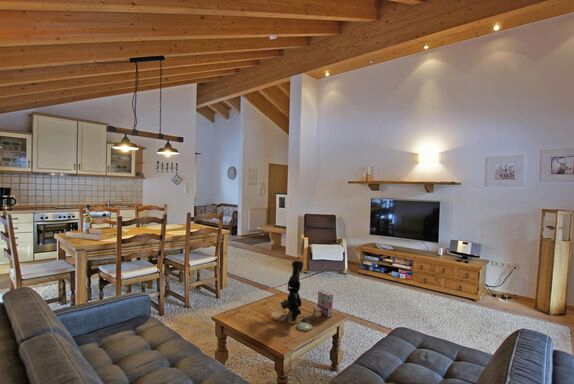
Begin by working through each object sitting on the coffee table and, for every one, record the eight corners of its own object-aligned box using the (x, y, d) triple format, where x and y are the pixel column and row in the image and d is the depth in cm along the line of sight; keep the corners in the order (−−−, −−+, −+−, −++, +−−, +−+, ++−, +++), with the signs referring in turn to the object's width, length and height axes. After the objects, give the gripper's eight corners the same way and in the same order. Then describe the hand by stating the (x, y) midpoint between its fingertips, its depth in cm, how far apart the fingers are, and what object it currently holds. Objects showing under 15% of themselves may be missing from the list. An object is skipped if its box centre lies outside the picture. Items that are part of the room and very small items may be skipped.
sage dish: (297, 323, 208) (297, 321, 208) (311, 324, 207) (311, 323, 207) (296, 330, 198) (296, 329, 198) (311, 331, 197) (311, 330, 197)
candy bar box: (332, 316, 221) (333, 294, 220) (327, 318, 218) (328, 295, 217) (321, 310, 230) (322, 289, 229) (316, 312, 227) (317, 290, 226)
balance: (289, 324, 206) (289, 317, 205) (287, 320, 211) (287, 314, 211) (321, 321, 212) (322, 315, 211) (319, 318, 217) (319, 311, 217)
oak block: (313, 312, 215) (313, 307, 215) (318, 312, 216) (318, 306, 216) (315, 315, 211) (315, 309, 211) (320, 314, 212) (320, 309, 212)
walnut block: (287, 318, 211) (288, 311, 211) (294, 318, 212) (295, 311, 212) (289, 322, 206) (290, 314, 206) (296, 321, 207) (297, 314, 207)
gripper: (279, 292, 215) (278, 314, 216) (285, 303, 197) (284, 326, 198) (293, 291, 218) (293, 313, 219) (301, 302, 200) (300, 325, 201)
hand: (292, 319), depth 209 cm, fingers closed on walnut block, 5 cm apart
